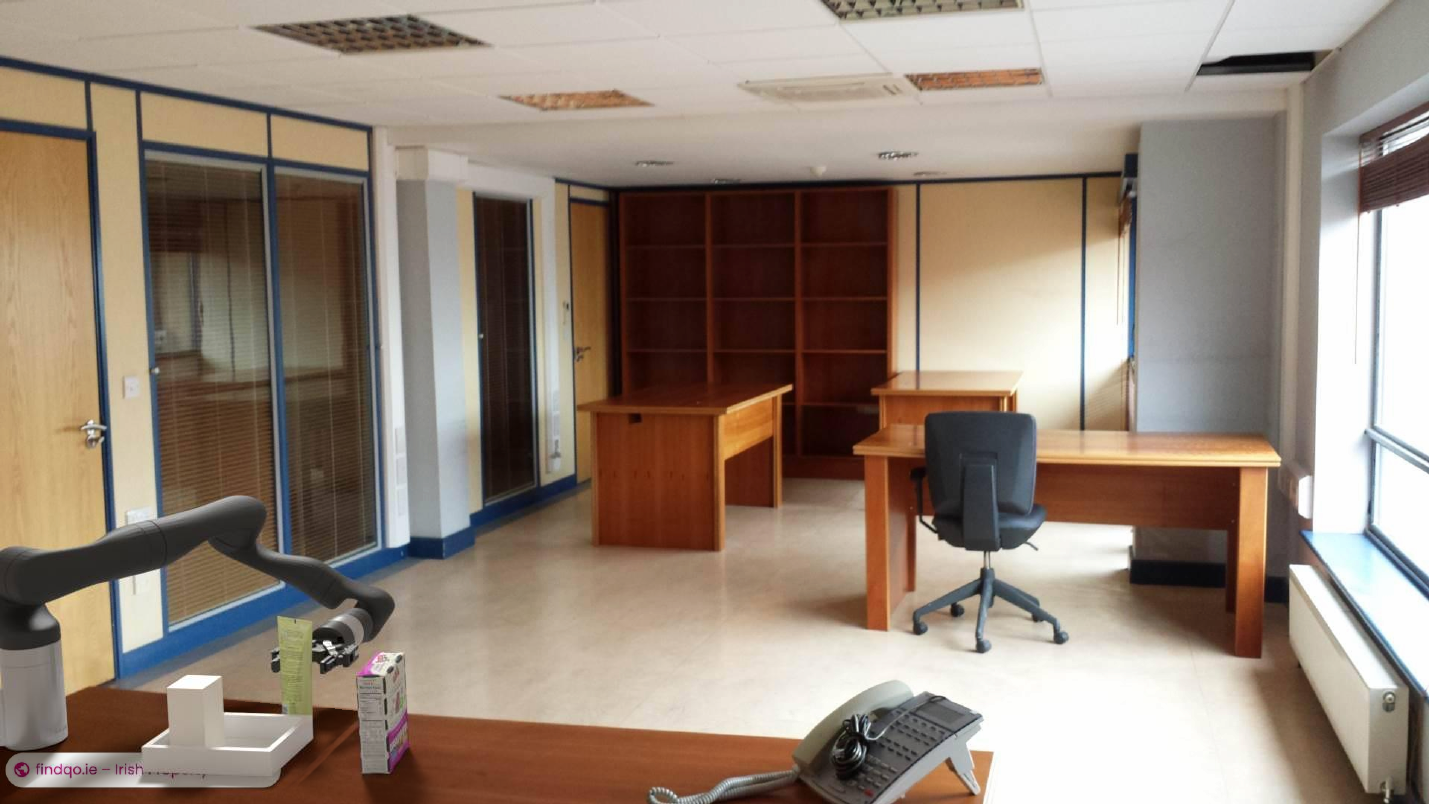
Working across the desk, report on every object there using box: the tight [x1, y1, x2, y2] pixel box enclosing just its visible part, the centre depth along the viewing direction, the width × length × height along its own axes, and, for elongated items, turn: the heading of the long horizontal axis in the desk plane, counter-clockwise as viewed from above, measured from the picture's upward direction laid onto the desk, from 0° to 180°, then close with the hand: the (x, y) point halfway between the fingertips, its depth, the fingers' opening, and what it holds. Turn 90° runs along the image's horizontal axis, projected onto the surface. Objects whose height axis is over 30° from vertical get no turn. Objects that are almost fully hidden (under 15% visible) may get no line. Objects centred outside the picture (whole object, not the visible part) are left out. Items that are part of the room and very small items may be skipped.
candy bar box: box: [355, 651, 410, 775], centre depth 191 cm, size 11×5×16 cm, turn 179°
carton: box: [166, 674, 225, 747], centre depth 192 cm, size 6×6×12 cm
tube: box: [276, 615, 314, 723], centre depth 204 cm, size 6×5×20 cm
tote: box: [141, 711, 314, 777], centre depth 192 cm, size 21×15×5 cm
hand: (297, 668), depth 204 cm, fingers open, 8 cm apart
